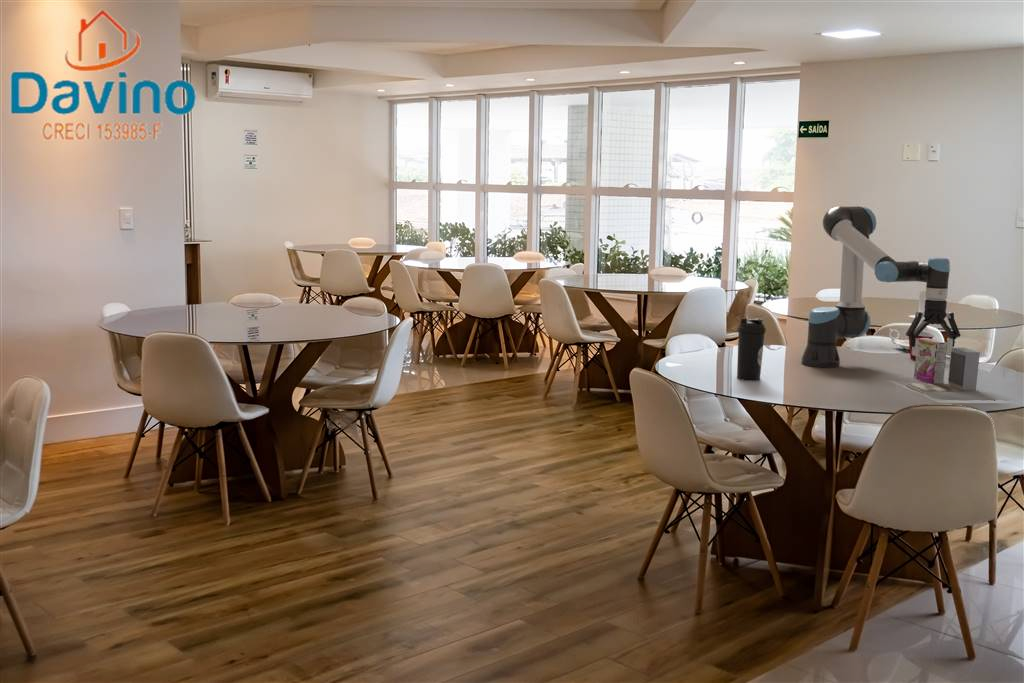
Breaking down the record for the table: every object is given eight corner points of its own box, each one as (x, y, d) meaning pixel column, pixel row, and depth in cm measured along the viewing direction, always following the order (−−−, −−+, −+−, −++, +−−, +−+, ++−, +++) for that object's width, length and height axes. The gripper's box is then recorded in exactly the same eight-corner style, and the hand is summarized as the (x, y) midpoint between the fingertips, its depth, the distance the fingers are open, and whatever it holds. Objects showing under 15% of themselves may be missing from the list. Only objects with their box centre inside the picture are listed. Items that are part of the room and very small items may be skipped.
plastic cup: (929, 363, 421) (932, 335, 419) (902, 360, 426) (905, 332, 424) (933, 359, 430) (936, 332, 428) (906, 356, 435) (909, 329, 433)
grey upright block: (961, 390, 359) (965, 352, 357) (947, 384, 369) (950, 347, 367) (975, 390, 360) (979, 352, 357) (961, 384, 369) (964, 347, 367)
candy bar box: (912, 380, 381) (916, 338, 379) (923, 379, 383) (927, 337, 380) (932, 386, 371) (936, 342, 368) (943, 385, 372) (948, 342, 369)
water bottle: (760, 382, 370) (764, 320, 366) (732, 379, 373) (736, 319, 369) (763, 377, 379) (767, 317, 375) (736, 375, 382) (740, 315, 379)
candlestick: (894, 344, 469) (900, 285, 465) (949, 351, 453) (955, 290, 449) (878, 349, 454) (883, 288, 449) (934, 356, 438) (940, 293, 433)
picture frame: (923, 393, 356) (923, 390, 356) (906, 386, 369) (906, 383, 369) (979, 394, 358) (979, 390, 358) (959, 386, 371) (960, 383, 371)
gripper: (909, 300, 367) (904, 356, 370) (973, 300, 369) (968, 357, 372) (899, 298, 374) (895, 353, 377) (962, 298, 376) (957, 353, 379)
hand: (931, 355), depth 375 cm, fingers open, 13 cm apart
